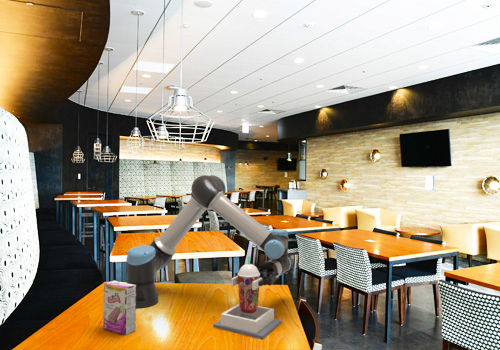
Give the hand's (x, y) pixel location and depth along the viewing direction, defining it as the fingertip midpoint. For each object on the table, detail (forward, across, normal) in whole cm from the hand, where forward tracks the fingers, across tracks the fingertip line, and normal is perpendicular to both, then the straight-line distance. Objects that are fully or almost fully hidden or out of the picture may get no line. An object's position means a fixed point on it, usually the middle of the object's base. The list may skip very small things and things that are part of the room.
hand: (242, 284), depth 131 cm
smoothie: (-5, 0, -11) cm, 12 cm away
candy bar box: (+22, +37, -16) cm, 46 cm away
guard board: (-5, 0, -16) cm, 17 cm away
